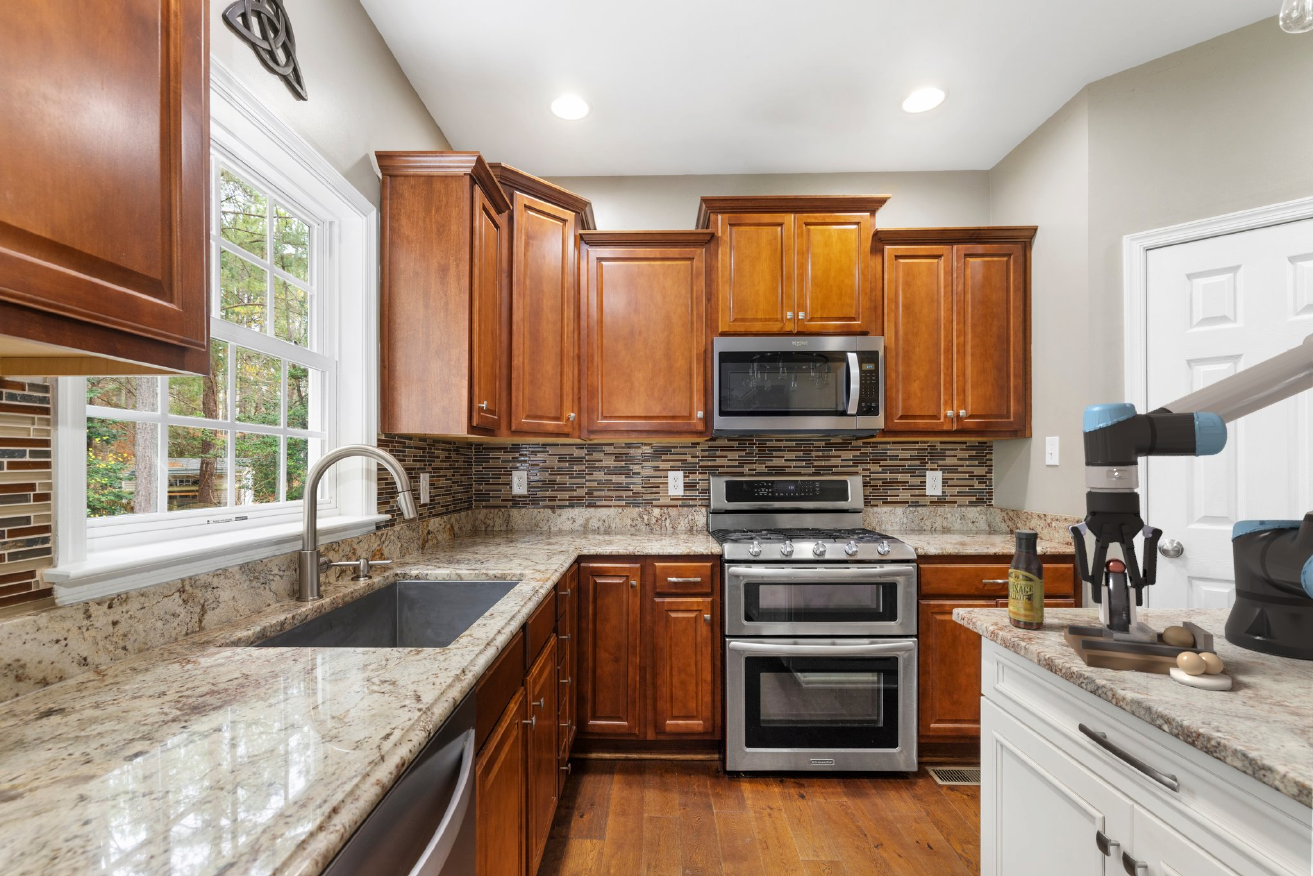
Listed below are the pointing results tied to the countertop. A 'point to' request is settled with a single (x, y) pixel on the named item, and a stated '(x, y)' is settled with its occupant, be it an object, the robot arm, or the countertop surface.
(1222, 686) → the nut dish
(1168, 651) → the tray
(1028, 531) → the sauce bottle
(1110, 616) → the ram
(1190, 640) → the walnut
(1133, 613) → the robot arm
